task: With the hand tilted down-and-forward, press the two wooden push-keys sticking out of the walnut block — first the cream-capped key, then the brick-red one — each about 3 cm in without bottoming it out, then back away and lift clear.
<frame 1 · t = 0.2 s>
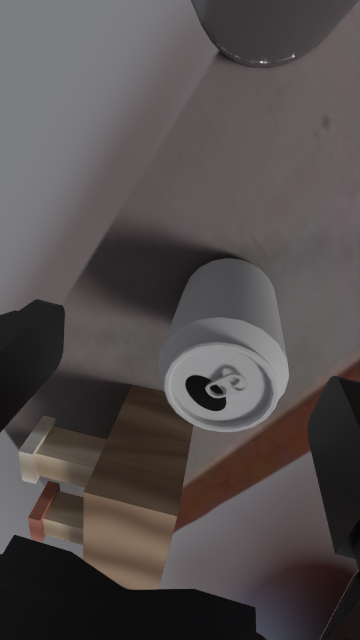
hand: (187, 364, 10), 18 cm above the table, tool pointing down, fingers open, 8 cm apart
key cream: (81, 459, 30), point 8 cm above the table, slide at 0.0 cm
can: (228, 296, 28), on the table
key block: (155, 443, 39), on the table
key red: (81, 520, 35), point 7 cm above the table, slide at 0.0 cm
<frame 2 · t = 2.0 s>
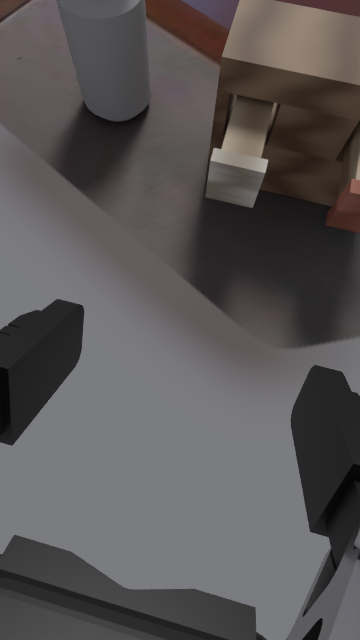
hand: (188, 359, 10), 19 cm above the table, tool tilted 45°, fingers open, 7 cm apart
key cream: (244, 140, 27), point 7 cm above the table, slide at 0.0 cm
can: (118, 103, 38), on the table
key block: (286, 168, 36), on the table
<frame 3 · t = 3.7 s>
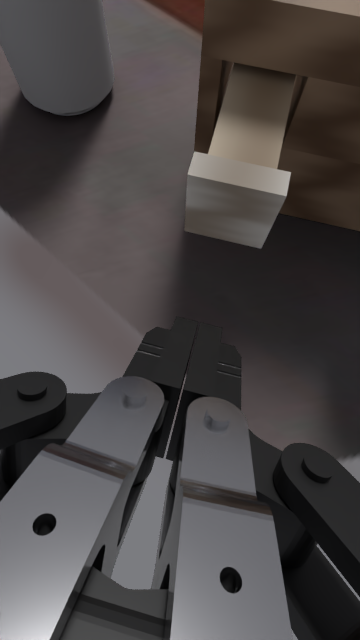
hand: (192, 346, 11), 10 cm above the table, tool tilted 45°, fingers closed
key cream: (247, 139, 17), point 8 cm above the table, slide at 0.0 cm
can: (71, 91, 28), on the table
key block: (305, 179, 25), on the table
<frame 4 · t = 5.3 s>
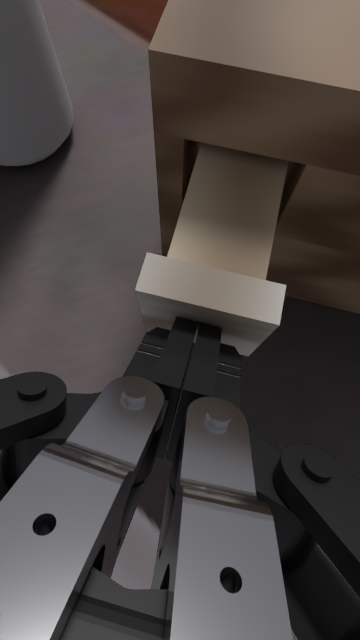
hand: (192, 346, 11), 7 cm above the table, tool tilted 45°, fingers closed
key cream: (229, 212, 12), point 8 cm above the table, slide at 1.2 cm, touching gripper
can: (23, 133, 23), on the table
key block: (304, 247, 21), on the table
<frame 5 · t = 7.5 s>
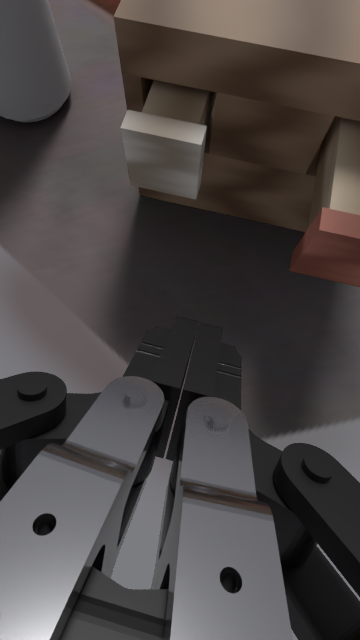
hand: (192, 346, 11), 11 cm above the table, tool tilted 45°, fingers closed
key cream: (182, 104, 19), point 8 cm above the table, slide at 3.2 cm
can: (32, 98, 30), on the table
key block: (248, 181, 27), on the table
key red: (351, 186, 18), point 7 cm above the table, slide at 0.0 cm
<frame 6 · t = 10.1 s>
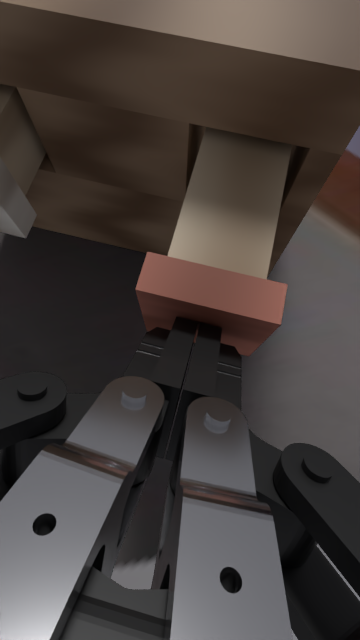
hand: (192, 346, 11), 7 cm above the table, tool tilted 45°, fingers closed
key cream: (3, 105, 14), point 8 cm above the table, slide at 3.2 cm
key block: (149, 202, 21), on the table
key red: (229, 211, 12), point 8 cm above the table, slide at 0.6 cm, touching gripper
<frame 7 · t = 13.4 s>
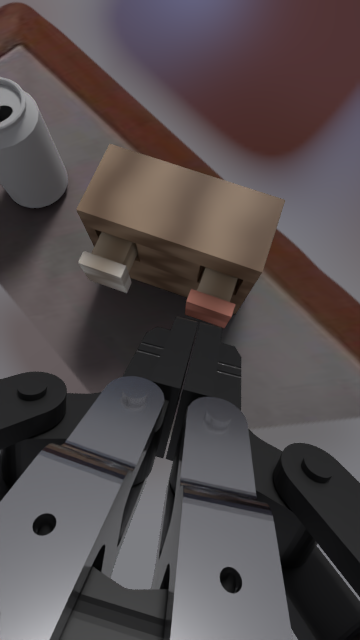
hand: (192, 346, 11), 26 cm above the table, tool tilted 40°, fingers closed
key cream: (123, 236, 32), point 8 cm above the table, slide at 3.2 cm
can: (40, 187, 42), on the table
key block: (179, 265, 40), on the table
key red: (222, 271, 31), point 8 cm above the table, slide at 3.2 cm
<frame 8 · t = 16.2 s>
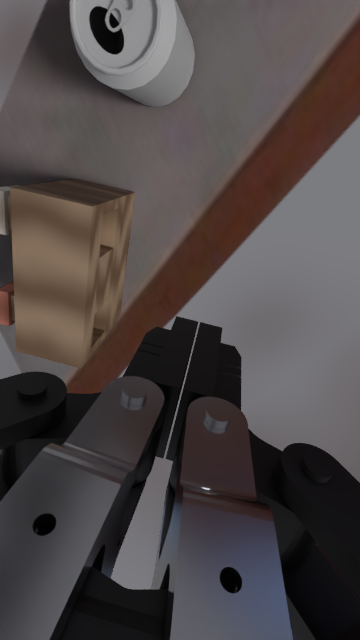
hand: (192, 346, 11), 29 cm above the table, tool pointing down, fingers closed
key cream: (50, 218, 32), point 8 cm above the table, slide at 3.2 cm
can: (157, 62, 32), on the table
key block: (99, 254, 41), on the table
key red: (48, 310, 37), point 7 cm above the table, slide at 3.2 cm
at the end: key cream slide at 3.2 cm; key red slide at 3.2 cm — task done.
